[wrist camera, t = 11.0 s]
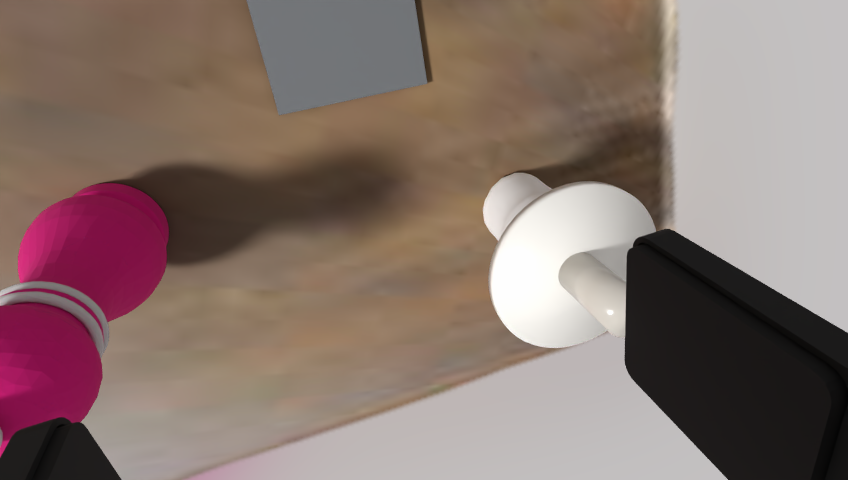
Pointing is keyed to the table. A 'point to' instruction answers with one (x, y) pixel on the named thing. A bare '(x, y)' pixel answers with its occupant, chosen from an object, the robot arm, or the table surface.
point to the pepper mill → (74, 300)
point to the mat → (337, 49)
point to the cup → (510, 200)
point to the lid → (567, 264)
